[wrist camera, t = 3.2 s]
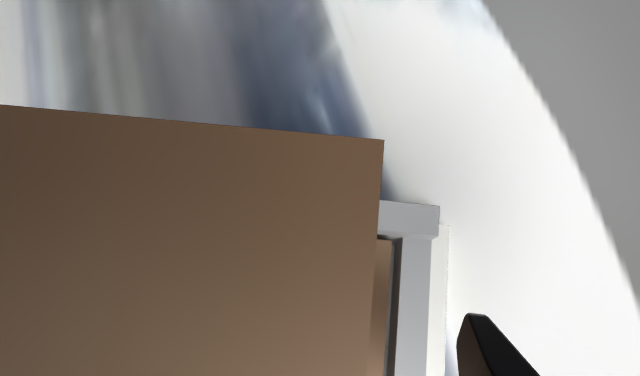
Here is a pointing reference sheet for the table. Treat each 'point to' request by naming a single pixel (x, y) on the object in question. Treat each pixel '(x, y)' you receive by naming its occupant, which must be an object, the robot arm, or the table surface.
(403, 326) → the tray
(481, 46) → the table surface
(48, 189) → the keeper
